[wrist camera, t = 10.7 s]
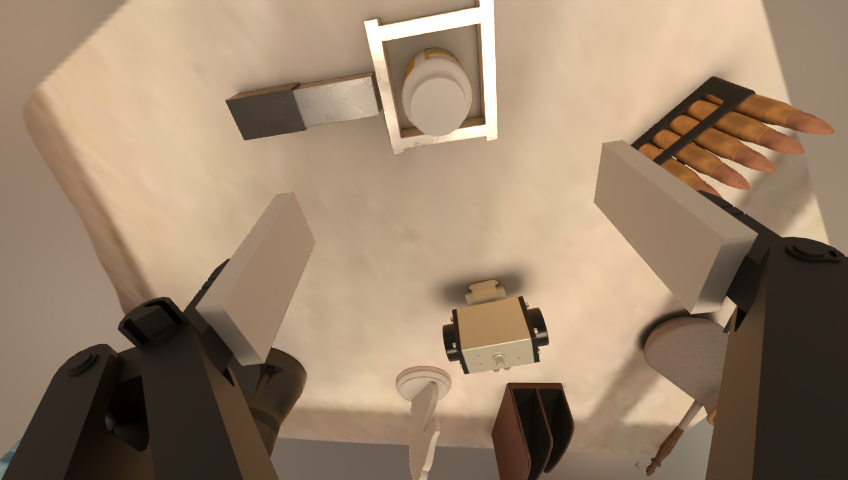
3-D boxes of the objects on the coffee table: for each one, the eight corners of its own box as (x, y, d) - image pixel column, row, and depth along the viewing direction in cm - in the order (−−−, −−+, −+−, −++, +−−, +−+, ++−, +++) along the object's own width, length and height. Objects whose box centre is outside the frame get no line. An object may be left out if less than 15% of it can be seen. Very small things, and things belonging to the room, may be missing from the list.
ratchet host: (271, 165, 36) (261, 176, 34) (217, 49, 29) (202, 53, 27) (492, 130, 34) (497, 139, 32) (487, -4, 27) (493, -4, 25)
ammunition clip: (712, 75, 31) (846, 111, 21) (721, 89, 32) (855, 129, 22) (611, 161, 36) (682, 222, 26) (621, 171, 37) (693, 234, 27)
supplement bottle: (422, 120, 33) (423, 159, 25) (393, 68, 30) (384, 93, 22) (472, 92, 32) (489, 124, 24) (447, 34, 29) (457, 48, 21)
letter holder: (491, 432, 72) (504, 514, 61) (507, 381, 61) (527, 470, 49) (536, 433, 73) (558, 514, 61) (561, 381, 61) (594, 470, 50)
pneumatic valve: (439, 285, 46) (444, 362, 37) (524, 268, 44) (553, 343, 35) (448, 312, 49) (455, 389, 40) (528, 296, 48) (556, 373, 38)
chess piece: (461, 375, 59) (472, 473, 47) (433, 401, 64) (436, 495, 52) (412, 359, 56) (410, 459, 44) (386, 387, 61) (378, 484, 49)
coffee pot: (682, 297, 48) (770, 399, 36) (731, 322, 51) (827, 423, 39) (576, 373, 59) (616, 470, 47) (621, 389, 62) (670, 484, 50)
